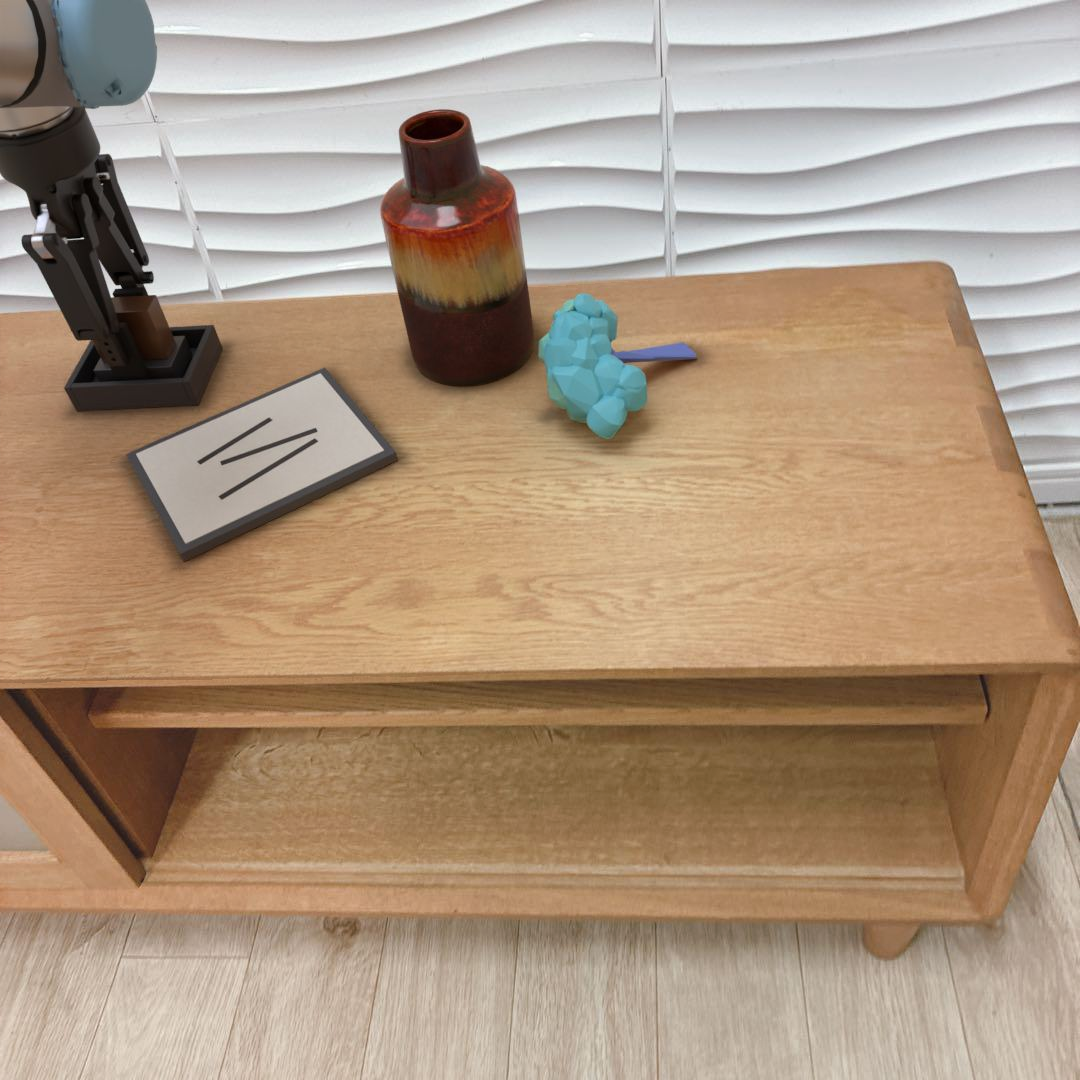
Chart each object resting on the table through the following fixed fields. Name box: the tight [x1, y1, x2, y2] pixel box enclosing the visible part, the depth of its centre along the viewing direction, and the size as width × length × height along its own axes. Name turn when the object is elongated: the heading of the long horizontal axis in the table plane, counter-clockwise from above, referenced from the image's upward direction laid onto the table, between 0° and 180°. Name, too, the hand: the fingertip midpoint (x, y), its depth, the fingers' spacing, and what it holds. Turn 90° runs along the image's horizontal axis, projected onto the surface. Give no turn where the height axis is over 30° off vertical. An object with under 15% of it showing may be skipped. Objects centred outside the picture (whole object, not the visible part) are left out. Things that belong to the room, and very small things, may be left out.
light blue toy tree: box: [538, 292, 697, 440], centre depth 87 cm, size 11×9×15 cm
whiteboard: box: [125, 367, 399, 562], centre depth 87 cm, size 18×14×1 cm
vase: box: [379, 108, 535, 387], centre depth 87 cm, size 11×11×20 cm
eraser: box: [92, 294, 192, 382], centre depth 93 cm, size 7×4×7 cm, turn 87°
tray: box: [63, 324, 223, 412], centre depth 95 cm, size 11×8×3 cm
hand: (146, 368), depth 96 cm, fingers closed on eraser, 4 cm apart
